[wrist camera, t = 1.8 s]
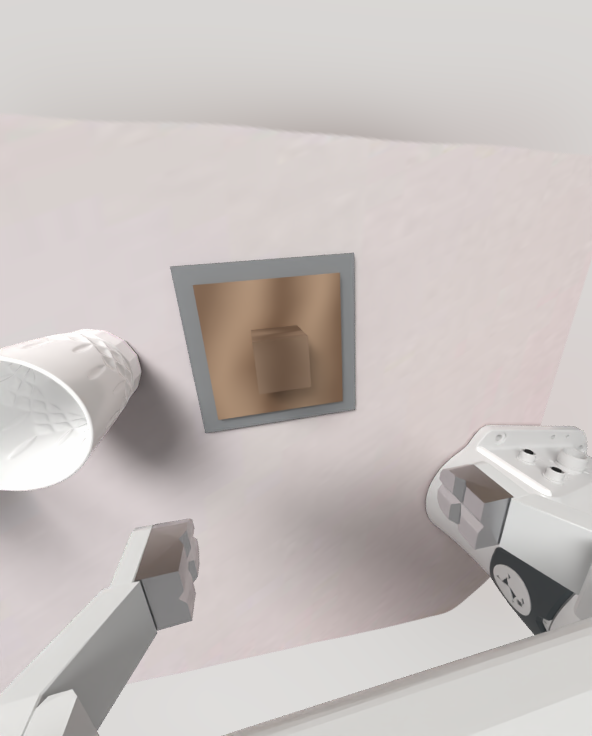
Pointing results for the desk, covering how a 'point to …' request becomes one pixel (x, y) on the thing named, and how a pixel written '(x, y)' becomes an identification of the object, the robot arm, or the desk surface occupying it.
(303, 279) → the walnut lid
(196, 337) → the rubber mat
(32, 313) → the desk surface
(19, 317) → the desk surface
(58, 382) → the white cup
